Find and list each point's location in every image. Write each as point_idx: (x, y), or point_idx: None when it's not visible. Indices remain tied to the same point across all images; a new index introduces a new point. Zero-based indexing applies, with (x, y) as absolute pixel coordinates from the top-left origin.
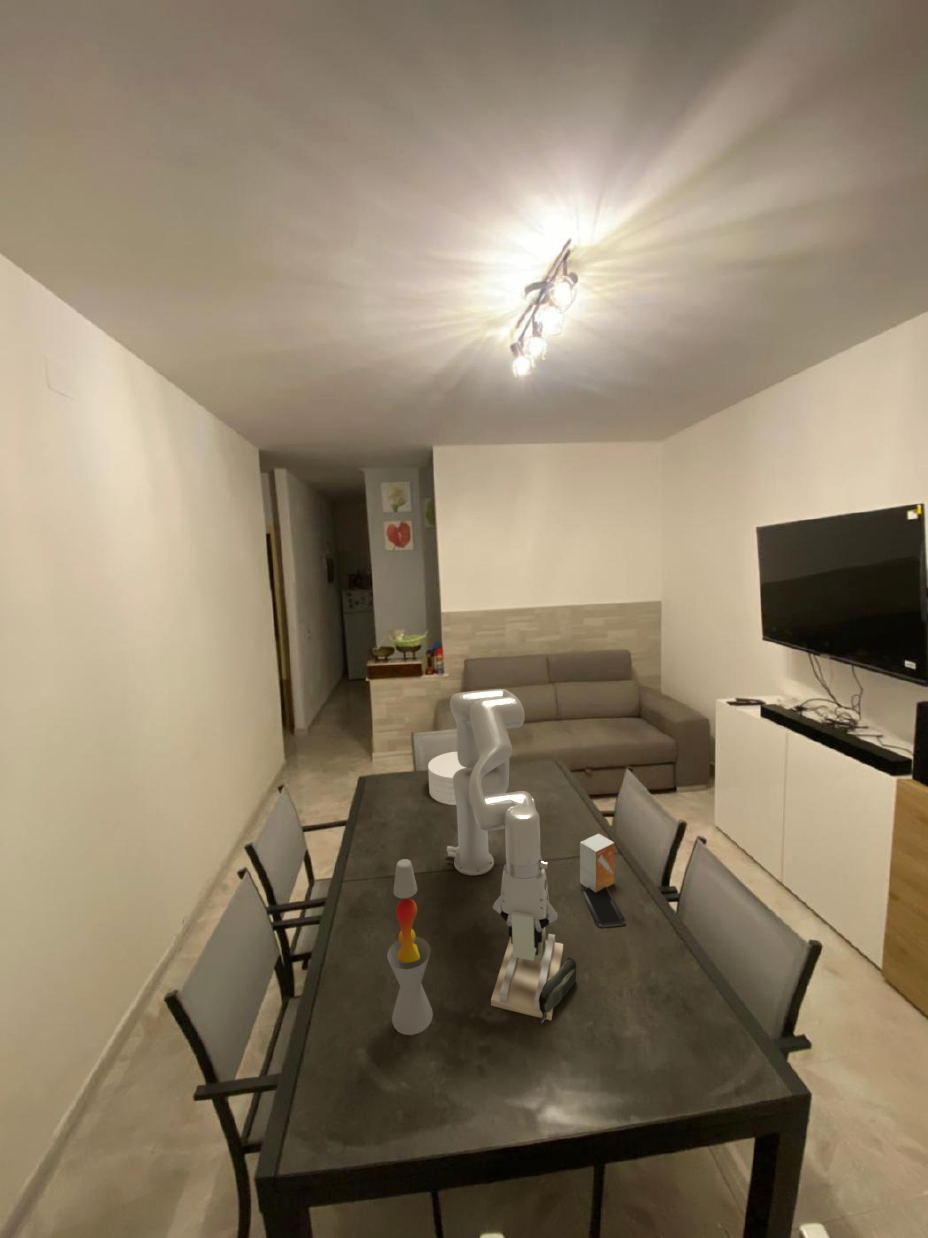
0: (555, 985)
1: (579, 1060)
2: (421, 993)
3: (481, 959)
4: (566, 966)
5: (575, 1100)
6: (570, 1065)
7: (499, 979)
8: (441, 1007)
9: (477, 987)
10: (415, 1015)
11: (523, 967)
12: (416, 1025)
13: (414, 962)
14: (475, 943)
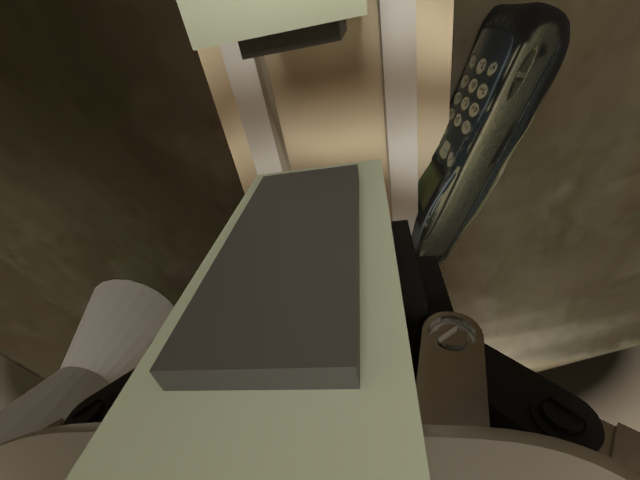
0: (469, 217)
1: (519, 287)
2: (123, 369)
3: (135, 94)
4: (519, 97)
5: (506, 347)
6: (497, 301)
7: (248, 183)
8: (168, 280)
9: (201, 203)
10: None
11: (301, 96)
12: None
13: (33, 391)
14: (52, 18)
